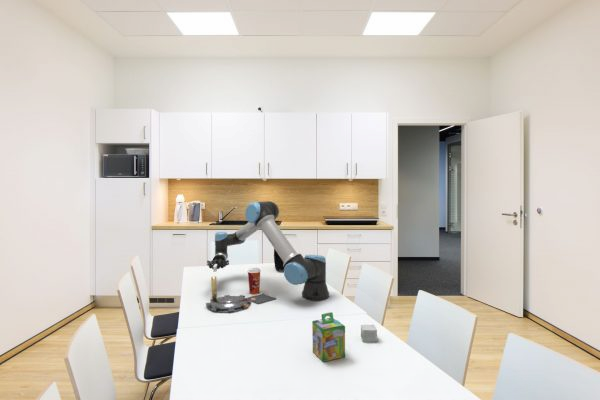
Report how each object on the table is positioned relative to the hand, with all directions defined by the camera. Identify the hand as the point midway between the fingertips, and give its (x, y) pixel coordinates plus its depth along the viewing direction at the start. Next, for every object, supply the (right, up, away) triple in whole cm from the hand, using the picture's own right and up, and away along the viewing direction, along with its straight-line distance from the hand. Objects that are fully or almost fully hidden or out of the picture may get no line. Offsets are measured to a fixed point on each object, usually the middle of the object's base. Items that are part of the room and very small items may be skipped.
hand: (214, 269), depth 189 cm
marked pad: (+25, -17, +2) cm, 30 cm away
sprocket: (+9, -17, -8) cm, 21 cm away
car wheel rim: (+34, -15, +70) cm, 79 cm away
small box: (+74, -18, -50) cm, 91 cm away
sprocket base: (+9, -17, -8) cm, 21 cm away
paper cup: (+20, -17, +13) cm, 29 cm away
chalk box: (+57, -19, -62) cm, 86 cm away
